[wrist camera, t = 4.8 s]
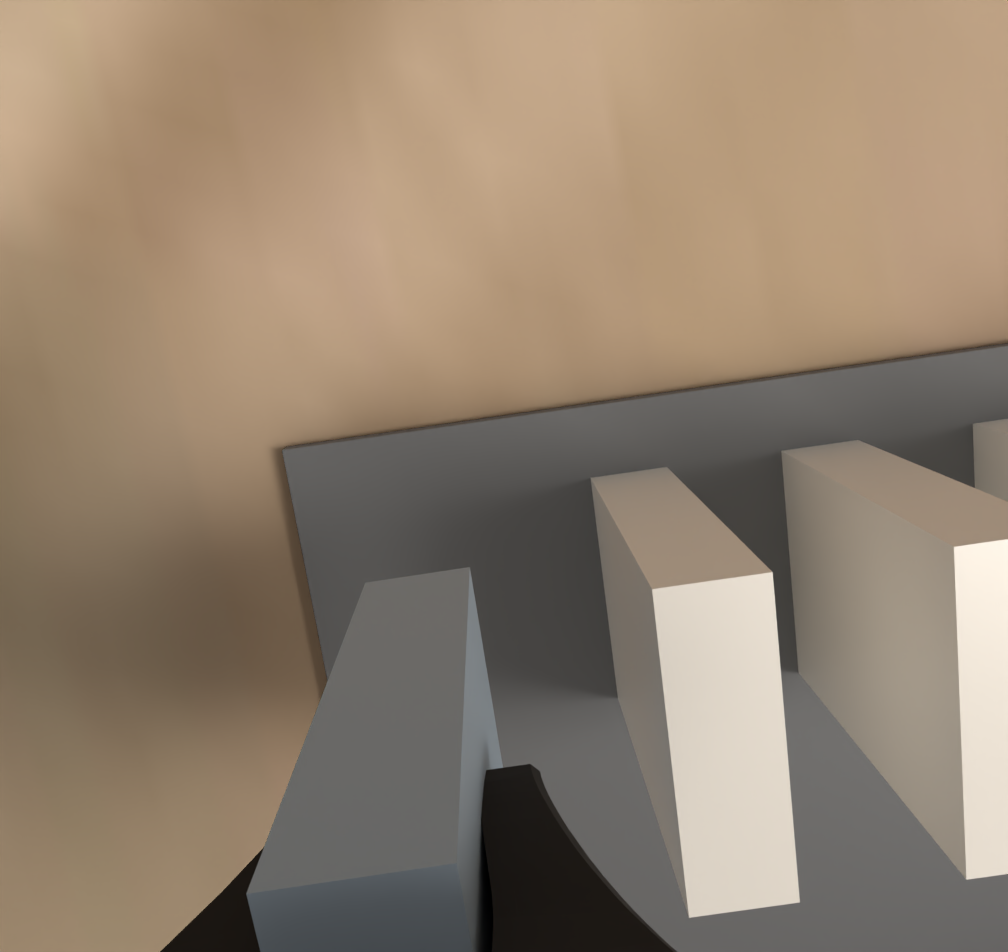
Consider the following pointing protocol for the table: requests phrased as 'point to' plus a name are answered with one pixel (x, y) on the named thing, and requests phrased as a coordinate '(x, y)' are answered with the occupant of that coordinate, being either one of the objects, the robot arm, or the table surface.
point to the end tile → (389, 786)
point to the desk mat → (586, 636)
